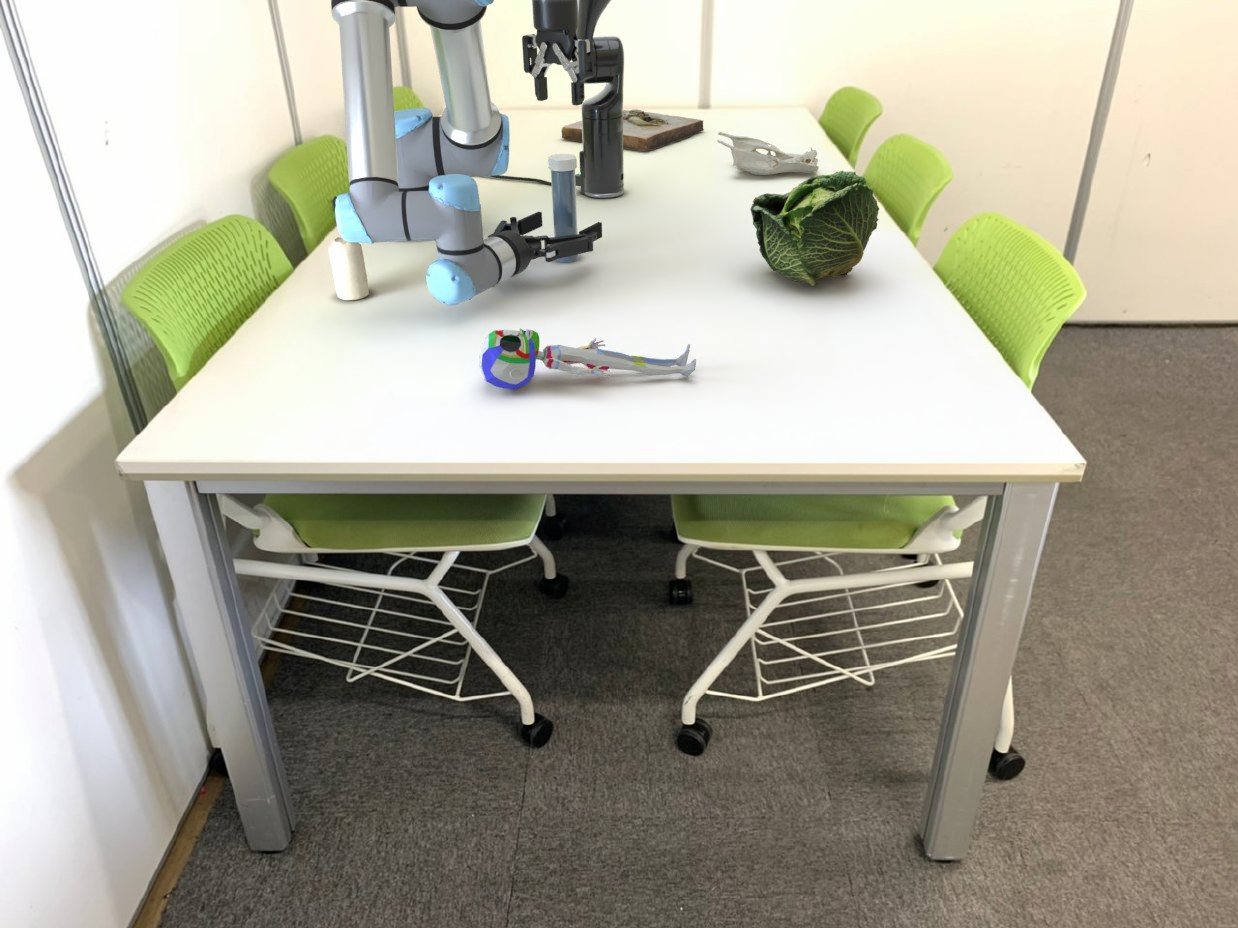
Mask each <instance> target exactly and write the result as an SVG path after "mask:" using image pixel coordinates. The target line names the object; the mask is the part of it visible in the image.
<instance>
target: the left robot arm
mask: <svg viewBox="0 0 1238 928" xmlns="http://www.w3.org/2000/svg"><path fill="white" fill-rule="evenodd" d="M494 2H495V0H330V7H331V17H332V19H333V21H335V23H336V24H338V27H339V28H338V29H339V40H340V41H339V43H340V45H339V46H340V59H341V77H342V90H343V91H342V92H343V108H344V109H343V110H344V125H345V138H346V139H345V141H346V157H347V171H348V173H347V174H348V184H349V192H345V193H340V194H339V195H337V196H336V195H334V197H332V198H333V199H332V205H333V208H334V213H335V222H336V227H337V230H338V232H339V235H340V238H343V239H344V240H345V241H347V242H354V243H360V244H371V245H372V244H377V243H391V242H419V241H421V242H422V241H435V243H436V250H437V251H436V252H437V259H436V260H435V261H434V262H432V264H430V265H429V267H428V269H427V273H426V275H425V278H426V284H427V287H428V290H429V292H430V294H431V295H432V296H433V297H434V298H435V300H437V301H438V302H439V303H441V304H442V305H446V306H456V305H458V304H462V303H463V302H464V303H465V302H466V301H469V300H472V299H474V297H476V296H478V295H479V294H481V293H483V292H485V291H487V290H488V289H490V288H494V287H496V286H497V285H499V284H500V283H502V282H505V281H506V280H508V279H510V278H512V277H515V276H516V275H518V274H519V275H520V274H521V273H523V272H524V271H526V270H527V268H528V267H529V266H530V263H531V261H532V260H536V259H538V258H544V261H545V263H551V262H553V261H557V260H556V259H559V258H564V257H568V256H573V255H577V254H578V255H582V254H586V253H590V252H593V251H594V242H596V241H597V240H600V239H601V238H603V222H601V221H598V222H596V223H594V224H592V225H590V226H587V227H585V228H584V229H581V230H579V231H578V234H576V235H567V236H559V237H554V236H551V237H549V236H548V235H546V234H544V235H538V236H537V235H536V236H534V235H526V234H529V233H530V232H533V231H535V230H537V229H539V228H541V227H543V226H544V225H543V212H542V211H537V212H534V213H532V214H529V215H527V216H525V217H523V218H521V219H519V220H517V219H518V218H517V217H516V216H511V217H509V223H508V220H503V219H502V220H500V221H499V223H498V225H497V226H496V227H495V230H494V231H493V233H491V234H489V235H487V238H485V239H484V231H483V220H482V219H483V217H482V204H481V200H480V194H479V187H478V183H477V182H476V180H475V179H474V178H491V177H490V176H495V175H502V176H503V175H505V174H506V173H507V171H508V169H509V165H510V135H511V134H510V119H509V116H508V115H506V114H503V113H501V112H500V109H499V107H497V106H496V104H495V103H493V102H492V97H491V91H490V83H489V76H488V67H487V61H486V53H485V46H484V45H485V44H484V38H483V37H484V36H483V32H482V22H481V20H482V19H483V18H484V16H485V15H486V14H487V13H486V12H487V9H488V6H489V5H492V4H493V3H494ZM398 7H400V8H412V7H414V8H415V7H416V10H417V14H418V16H419V17H420V19H421V20H422V21H423V22H424V23H425V24H426V25H428V26H429V29H430V33H431V34H430V35H431V38H432V45H433V50H434V54H435V60H436V64H437V70H438V75H439V79H440V85H441V89H442V94H443V95H442V96H443V99H444V104H445V107H444V109H443V111H442V113H441V116H433V115H434V114H433V112H432V110H431V108H428V107H413V108H407V109H401V110H398V111H395V101H394V100H395V99H394V83H393V69H392V67H393V66H392V52H391V51H392V50H391V35H390V28H391V27H392V26H393V25H395V22H396V8H398ZM542 242H543V244H544V245H543V246H544V248H543V246H542Z"/></svg>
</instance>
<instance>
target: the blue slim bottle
mask: <svg viewBox="0 0 1238 928" xmlns="http://www.w3.org/2000/svg"><path fill="white" fill-rule="evenodd" d="M575 175H576V169H574V170H571V171H563V172H560V171H552V170H550V178H551V179H550V180H551V181H550V182H551V184H552V186H551V201H552V217H553V218H552V219H553V237H559V236H567V235H576V234H579V232H578V211H577V210H578V209H577V189H576V188H577V186H576V183H575ZM578 260H579V254H577V255H573V256H568V257H564V258H559V259H556V260H555V261H557V262H559V263H573V262H577V261H578Z"/></svg>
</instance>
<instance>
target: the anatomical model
mask: <svg viewBox="0 0 1238 928" xmlns="http://www.w3.org/2000/svg"><path fill="white" fill-rule="evenodd" d="M717 134H718V136H723V137H726V138H728V139H730V140H731V142H732V145H730V144H728V143H726V142H725V141H723V140H720V139H717V140H716V142H717V143H719V144H721V145H723V146H725V147H727V148H729V150H730V153H731V156H732V164H733V165H732V166H734V167H737V170H738V171H740V172H748V173H749V174H751V175H754V176H771V175H777V174H781V173H803V174H809V173H814V172H817V171H819V169H820V167H819V165H818V163H819V158H817V156H818V152H817V150H816V149H813V148H812V146H810V151H806V152H804V153H803V154H800V153H799V154H798V153H788V152H784V151H782V150H780V148H779V147H777V146H776V145H774V144H772V143H769V142H767V141H765V140H761V139H758V138H753V137H749V136H739V135H733V134H729V133H725V132H723V131H718V133H717ZM758 150H765V151H767V153H766V154H764V153H762V152H760V151H758ZM771 152H773V153H774V155H773V154H772V153H771Z"/></svg>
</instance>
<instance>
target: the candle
mask: <svg viewBox="0 0 1238 928" xmlns="http://www.w3.org/2000/svg"><path fill="white" fill-rule="evenodd" d="M362 247H363V246H362V243H354V242H347V241H345V240H344V239H343V238H342V237H341V236H338V237H336V238H334V239H333V241H332V242H331V243H330V245H329V247H327V250H328V256H329V261H330V265H331V272H332V276H333V282H334V287H335V291H336V297H337V298H338V299H340V300H342V301H343V300H344V301H354V300H361V299H363V298H366V297H368V296H369V294H370V287H369V281H368V275H367V269H366V265H365V258H364V252H363V248H362Z"/></svg>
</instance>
